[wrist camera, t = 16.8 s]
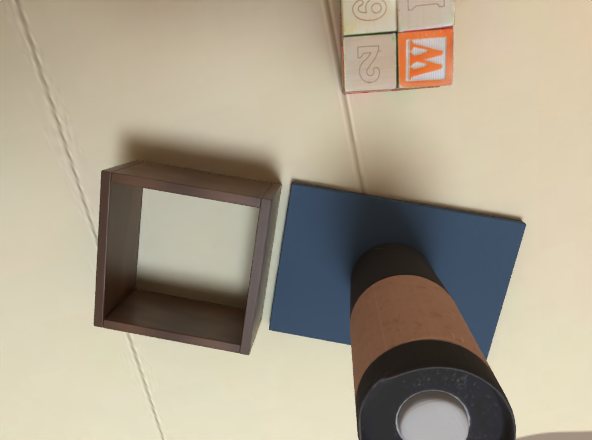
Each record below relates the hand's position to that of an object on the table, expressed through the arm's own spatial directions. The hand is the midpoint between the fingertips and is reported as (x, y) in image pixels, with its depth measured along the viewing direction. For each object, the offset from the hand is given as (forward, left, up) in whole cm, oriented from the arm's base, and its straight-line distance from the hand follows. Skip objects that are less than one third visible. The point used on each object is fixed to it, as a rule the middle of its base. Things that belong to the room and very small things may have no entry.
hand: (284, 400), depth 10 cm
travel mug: (+7, -8, -31) cm, 33 cm away
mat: (+7, -8, -32) cm, 34 cm away
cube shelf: (-10, -8, -32) cm, 35 cm away
